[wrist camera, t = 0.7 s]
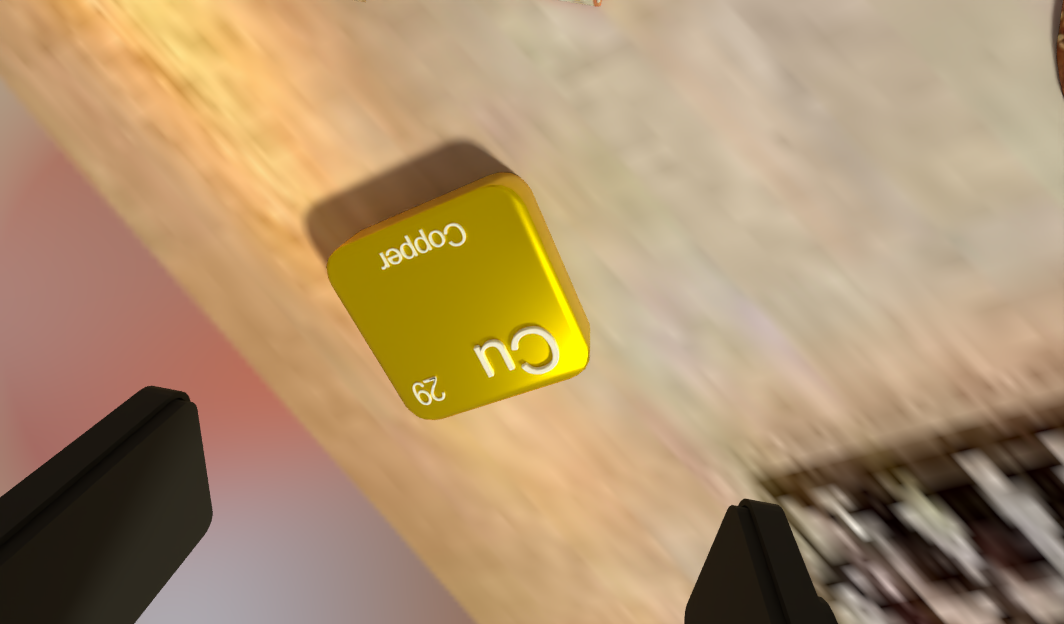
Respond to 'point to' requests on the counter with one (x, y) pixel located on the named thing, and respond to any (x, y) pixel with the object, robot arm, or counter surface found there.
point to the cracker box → (586, 2)
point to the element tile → (464, 299)
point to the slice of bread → (1061, 49)
